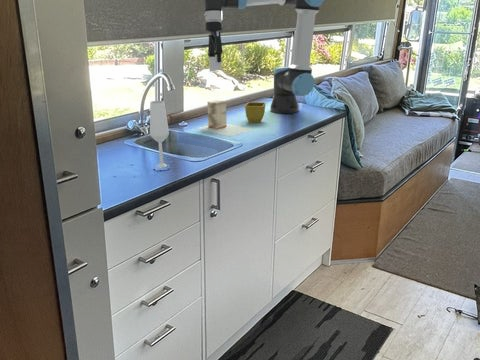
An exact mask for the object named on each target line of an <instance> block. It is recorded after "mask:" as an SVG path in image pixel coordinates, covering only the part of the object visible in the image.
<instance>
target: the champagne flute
mask: <svg viewBox="0 0 480 360" xmlns="http://www.w3.org/2000/svg"><path fill="white" fill-rule="evenodd" d="M149 104H150V105H149V106H150V107H149V136H150V137H151V138H152V139H153V140H154V141H155V142H156V143H158V154H159V155H158V156H159V157H158V158H159V163H158V164H157V165H155V166H156V167H159V168H162V167H166V166H167V165H168V164H166V163H164V154H163V153H164V152H163V142H164V141H165V140H166V139H167V138H168V137H169V134H170V129H169V123H168V117H167V110H166V103H165V101H164V100H151V101H150V103H149Z"/></svg>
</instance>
